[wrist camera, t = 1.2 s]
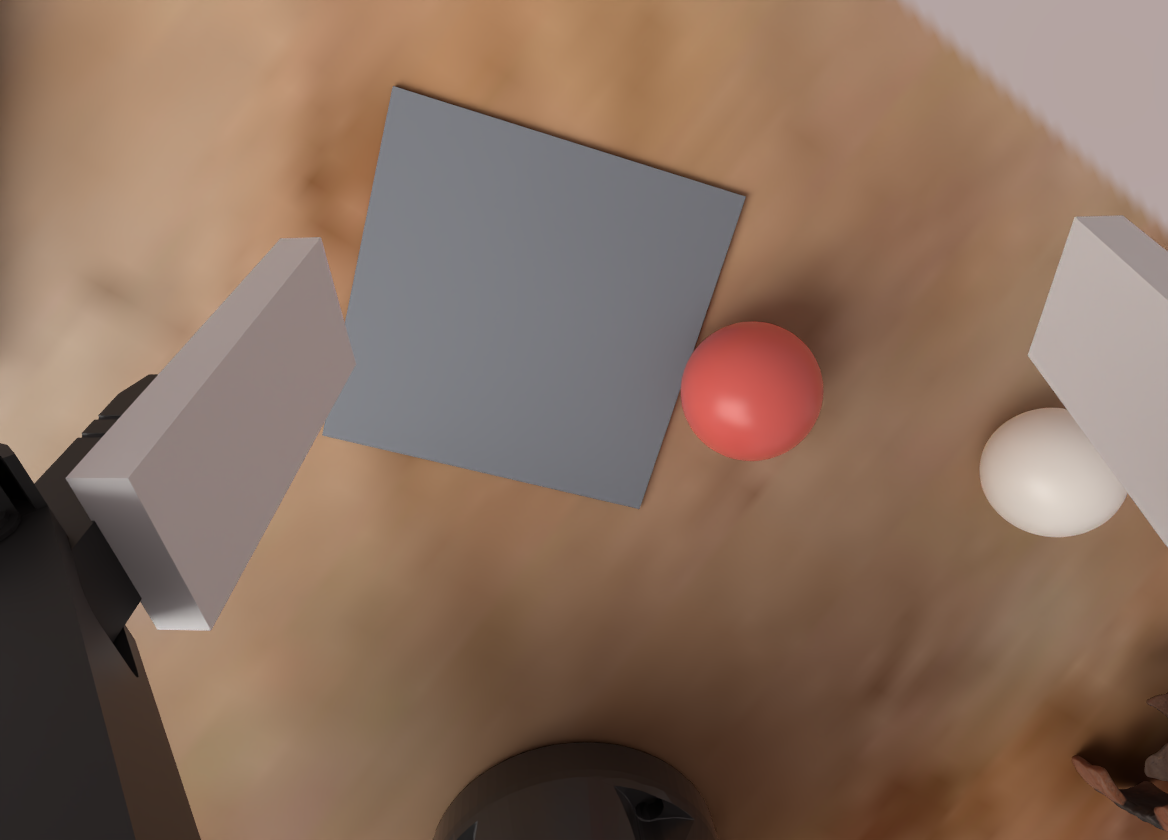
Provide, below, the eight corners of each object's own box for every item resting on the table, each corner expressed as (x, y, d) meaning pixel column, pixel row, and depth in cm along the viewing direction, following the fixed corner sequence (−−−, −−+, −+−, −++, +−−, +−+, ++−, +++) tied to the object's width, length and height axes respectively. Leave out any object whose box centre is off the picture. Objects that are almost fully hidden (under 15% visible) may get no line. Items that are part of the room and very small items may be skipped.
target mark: (744, 196, 31) (745, 196, 31) (638, 507, 35) (639, 508, 35) (393, 86, 28) (392, 86, 28) (323, 433, 32) (322, 435, 32)
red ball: (802, 415, 34) (855, 462, 29) (682, 446, 34) (713, 499, 29) (784, 295, 32) (836, 321, 27) (656, 328, 32) (684, 360, 27)
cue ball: (1071, 486, 37) (1164, 541, 31) (958, 516, 37) (1033, 575, 31) (1068, 378, 35) (1166, 417, 30) (950, 409, 35) (1027, 453, 30)
